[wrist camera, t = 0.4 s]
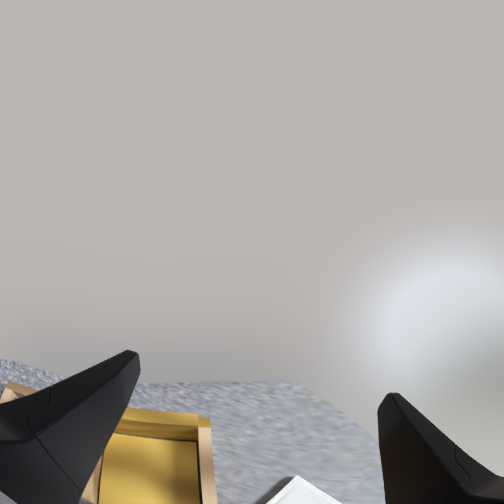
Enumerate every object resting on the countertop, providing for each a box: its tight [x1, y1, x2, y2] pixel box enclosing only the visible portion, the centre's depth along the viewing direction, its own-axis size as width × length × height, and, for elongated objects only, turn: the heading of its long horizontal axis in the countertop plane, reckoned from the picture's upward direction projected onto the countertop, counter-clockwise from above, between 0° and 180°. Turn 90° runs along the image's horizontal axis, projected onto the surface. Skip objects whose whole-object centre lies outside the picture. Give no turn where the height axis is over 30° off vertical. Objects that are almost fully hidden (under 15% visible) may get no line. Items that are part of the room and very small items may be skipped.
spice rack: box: [0, 381, 218, 504], centre depth 14 cm, size 9×20×4 cm, turn 98°
